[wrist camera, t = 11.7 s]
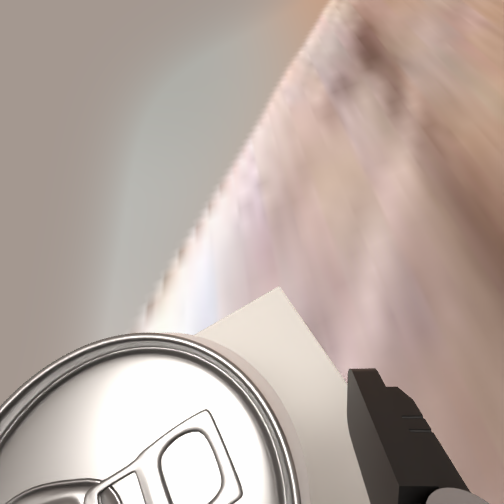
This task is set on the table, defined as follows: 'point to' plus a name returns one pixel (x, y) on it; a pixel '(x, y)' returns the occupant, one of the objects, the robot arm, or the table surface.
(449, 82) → the table surface
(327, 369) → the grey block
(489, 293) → the table surface
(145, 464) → the can
